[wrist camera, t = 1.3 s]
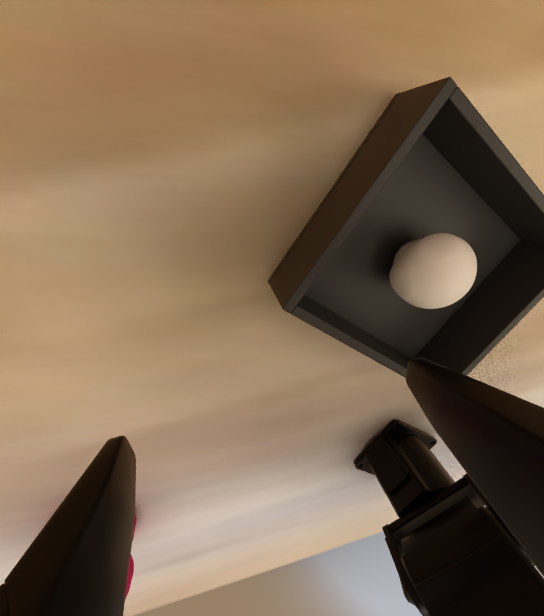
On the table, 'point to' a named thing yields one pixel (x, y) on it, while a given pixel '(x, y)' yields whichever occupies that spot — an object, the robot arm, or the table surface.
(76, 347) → the table surface
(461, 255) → the mushroom
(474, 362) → the black box
